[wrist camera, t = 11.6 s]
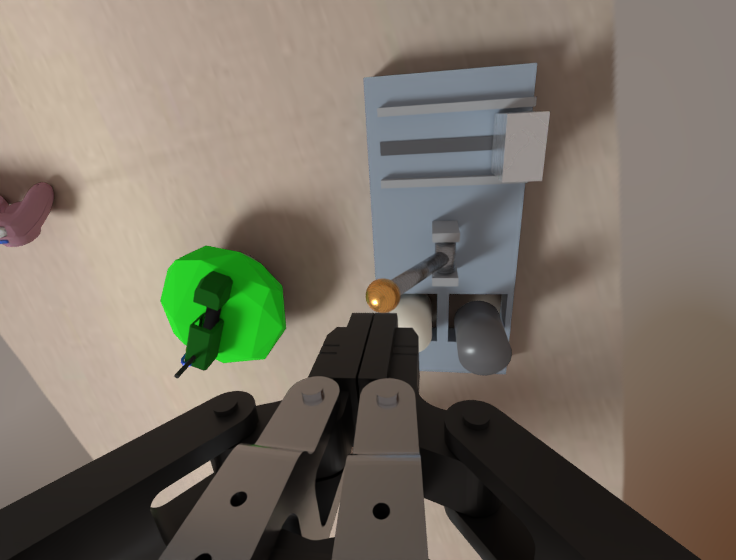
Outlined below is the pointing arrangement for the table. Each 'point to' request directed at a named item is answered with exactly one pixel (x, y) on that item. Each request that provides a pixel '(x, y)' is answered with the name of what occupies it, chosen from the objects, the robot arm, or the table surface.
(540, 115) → the slider knob
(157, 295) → the table surface
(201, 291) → the green floating island model
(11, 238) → the video game controller
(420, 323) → the button
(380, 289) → the toggle lever
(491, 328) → the button
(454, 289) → the panel
